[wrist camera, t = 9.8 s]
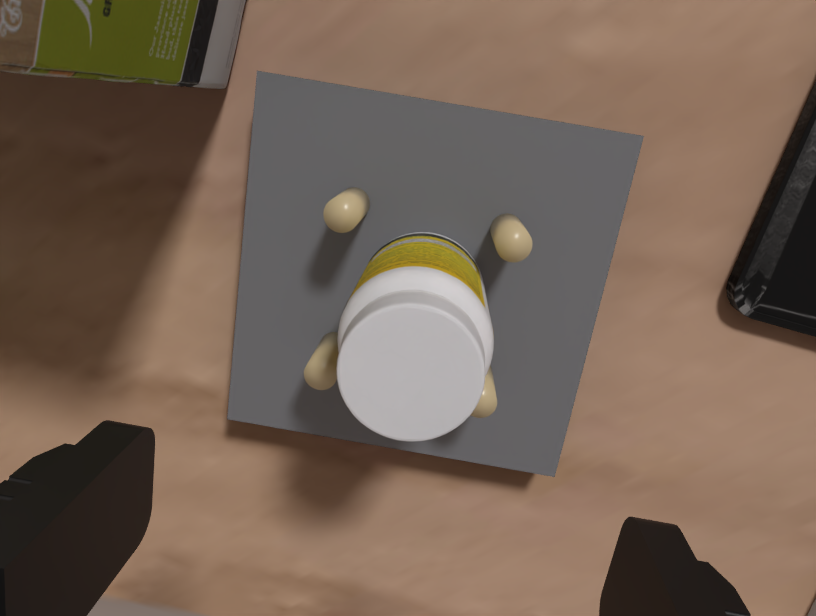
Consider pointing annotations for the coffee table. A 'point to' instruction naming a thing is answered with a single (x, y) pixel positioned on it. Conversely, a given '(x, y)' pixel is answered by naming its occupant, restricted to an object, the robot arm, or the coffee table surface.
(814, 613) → the hard drive
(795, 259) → the phone
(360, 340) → the supplement bottle
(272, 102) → the standoff chassis
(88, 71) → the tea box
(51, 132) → the coffee table surface
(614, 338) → the coffee table surface
